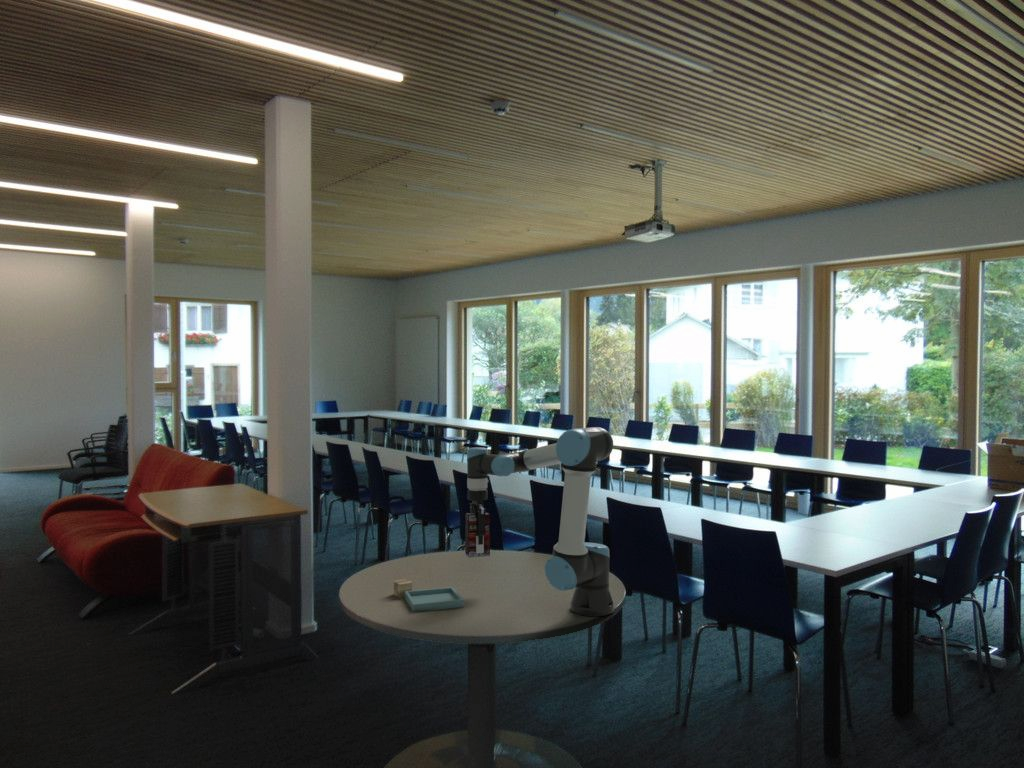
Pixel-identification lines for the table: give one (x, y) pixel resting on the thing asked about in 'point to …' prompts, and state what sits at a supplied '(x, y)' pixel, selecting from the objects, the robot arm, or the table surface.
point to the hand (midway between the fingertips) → (477, 551)
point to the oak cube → (402, 587)
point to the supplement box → (471, 538)
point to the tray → (433, 599)
